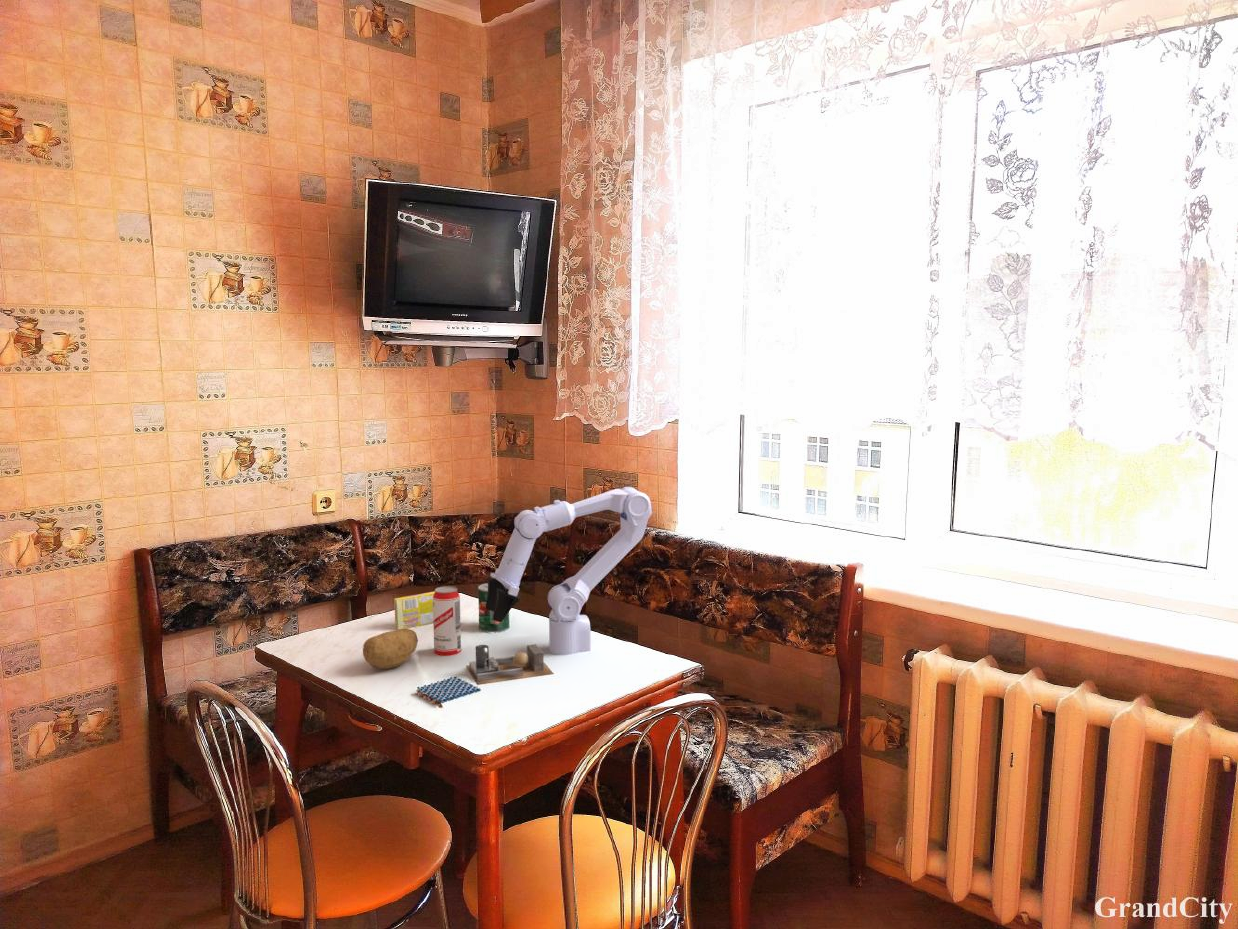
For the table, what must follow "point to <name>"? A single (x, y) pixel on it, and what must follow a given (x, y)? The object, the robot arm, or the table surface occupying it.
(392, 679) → the table surface
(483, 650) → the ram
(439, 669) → the table surface
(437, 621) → the beer can
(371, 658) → the potato
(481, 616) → the canned tomato
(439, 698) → the woven mat
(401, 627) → the candy box
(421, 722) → the table surface
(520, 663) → the walnut
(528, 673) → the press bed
